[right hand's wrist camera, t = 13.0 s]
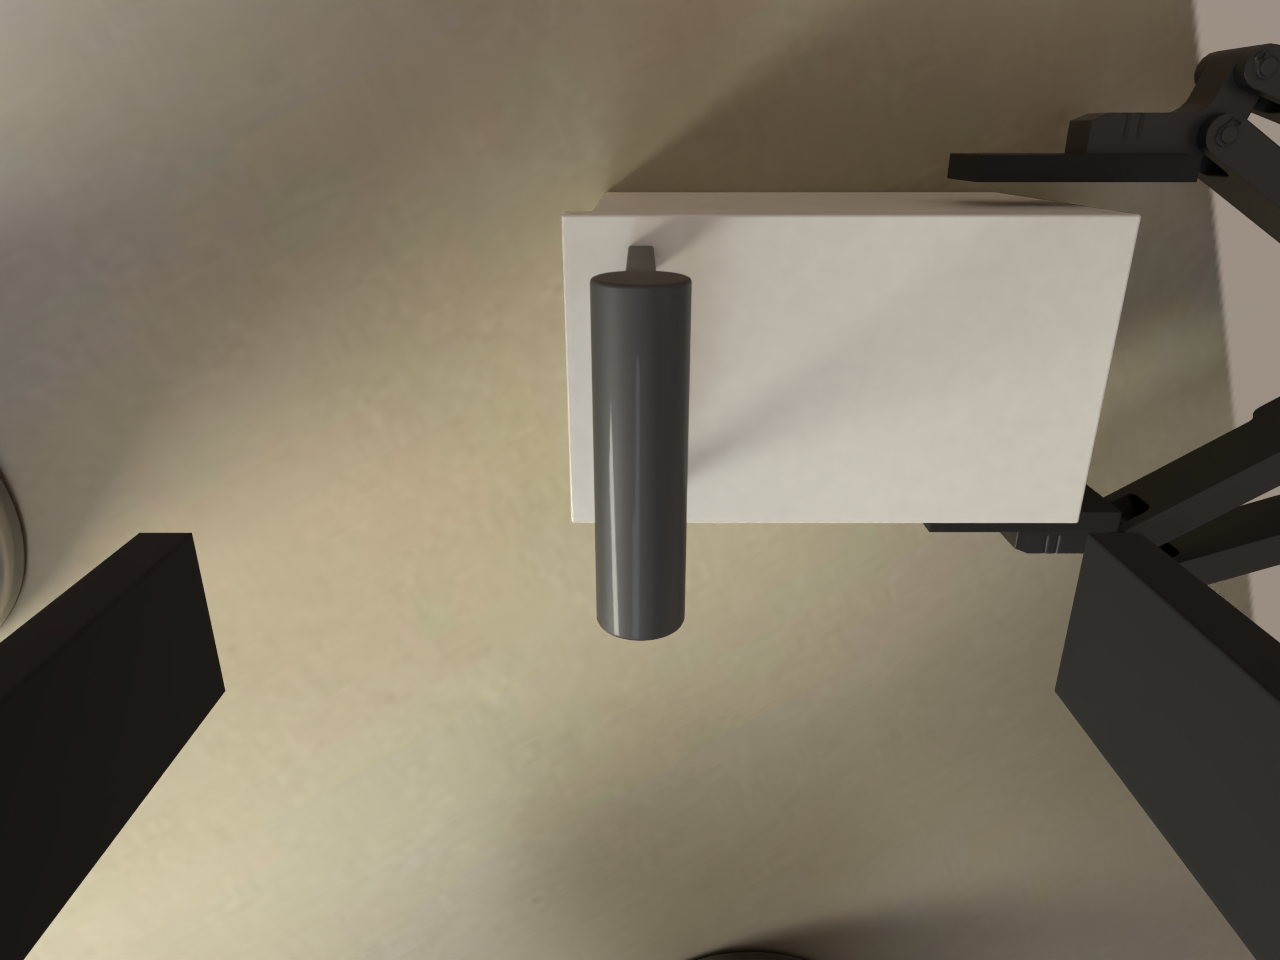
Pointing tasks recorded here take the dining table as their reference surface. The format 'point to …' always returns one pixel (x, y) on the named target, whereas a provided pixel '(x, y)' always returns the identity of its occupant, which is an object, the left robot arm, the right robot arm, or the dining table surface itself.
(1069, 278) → the lid
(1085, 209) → the chest
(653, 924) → the dining table surface
